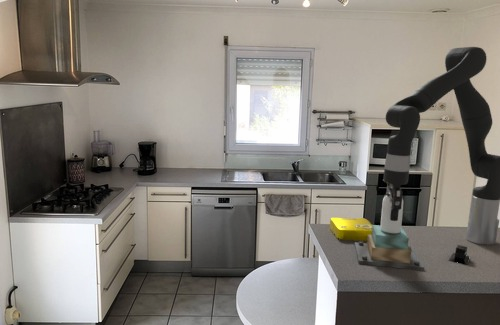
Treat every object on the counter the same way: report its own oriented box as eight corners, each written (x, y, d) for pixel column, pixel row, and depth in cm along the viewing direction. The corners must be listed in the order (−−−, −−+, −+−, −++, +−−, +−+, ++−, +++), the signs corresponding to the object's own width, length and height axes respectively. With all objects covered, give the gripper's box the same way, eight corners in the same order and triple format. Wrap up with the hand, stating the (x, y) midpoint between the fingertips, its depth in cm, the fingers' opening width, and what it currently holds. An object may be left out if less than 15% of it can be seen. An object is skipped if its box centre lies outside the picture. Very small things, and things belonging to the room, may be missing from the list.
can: (401, 229, 138) (404, 194, 136) (400, 235, 132) (403, 199, 130) (381, 226, 140) (384, 192, 138) (379, 232, 134) (382, 196, 132)
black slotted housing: (468, 269, 132) (470, 255, 131) (444, 262, 136) (446, 249, 136) (474, 257, 142) (476, 244, 141) (451, 251, 146) (453, 239, 146)
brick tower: (412, 250, 144) (416, 226, 142) (424, 270, 128) (427, 243, 127) (354, 244, 147) (356, 220, 145) (358, 263, 132) (361, 236, 130)
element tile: (364, 228, 167) (365, 216, 166) (377, 241, 152) (379, 229, 151) (328, 227, 166) (329, 215, 165) (338, 241, 151) (339, 228, 150)
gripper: (414, 173, 125) (407, 224, 128) (404, 165, 138) (399, 211, 141) (388, 171, 126) (382, 222, 129) (381, 163, 140) (376, 209, 143)
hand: (391, 216), depth 135 cm, fingers open, 8 cm apart
